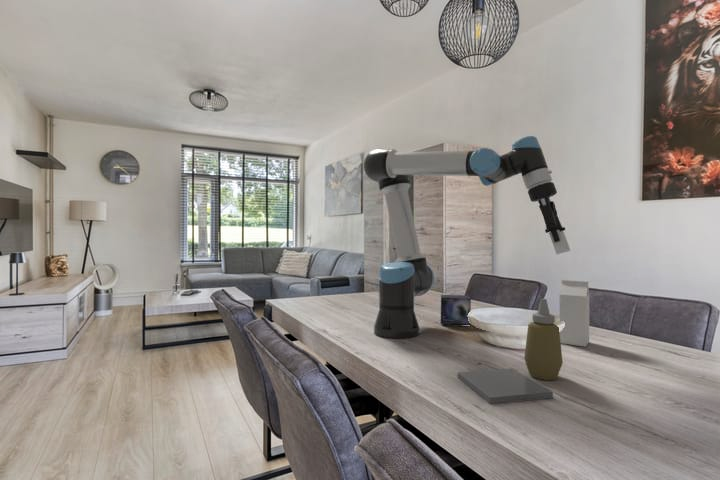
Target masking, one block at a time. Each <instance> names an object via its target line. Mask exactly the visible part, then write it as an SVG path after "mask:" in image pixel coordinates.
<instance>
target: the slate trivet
mask: <svg viewBox="0 0 720 480" xmlns="http://www.w3.org/2000/svg"><path fill="white" fill-rule="evenodd" d="M457 378H458V379H459V380H460V381H461V382H462V383H464V385H466V386H467V387H469V389H471V390H472V391H474V392H475V394H477V395H478V396H480V397H481V398H482V399H483V400H484V401H486V402H487V403H488V404H500V403H509V402H510V403H511V402H512V403H513V402H520V401H521V402H523V401H531V400H542V399H543V400H544V399H553V398H554V391H552V390H551V389H549V388H547V387H545V386H544V385H542V384H540V383H538V382H537V381H535V380H533V379H531V378H529V377H528V376H526V375H524V373H521V372H520V371H518V370H515V368H499V369H488V370H487V369H485V370H474V371H473V370H471V371H470V370H469V371H459V372H457Z"/></svg>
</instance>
